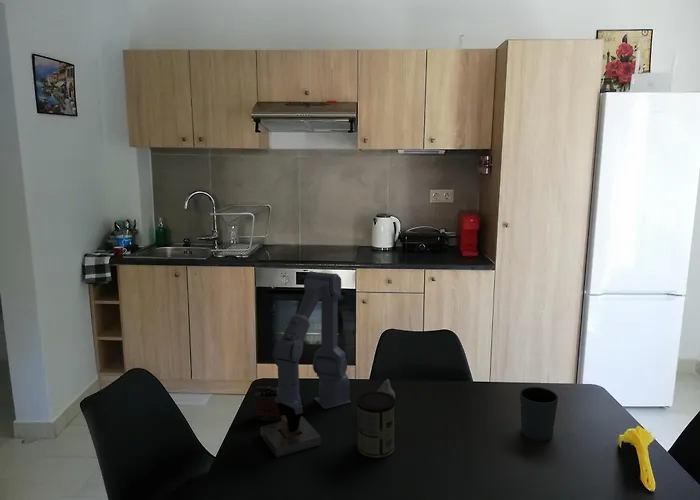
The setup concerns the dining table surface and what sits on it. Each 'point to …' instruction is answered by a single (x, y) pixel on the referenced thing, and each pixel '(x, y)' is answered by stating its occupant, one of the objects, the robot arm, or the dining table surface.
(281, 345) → the robot arm
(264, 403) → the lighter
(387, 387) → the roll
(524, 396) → the dark grey cup
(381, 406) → the coffee can
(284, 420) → the peg
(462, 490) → the dining table surface
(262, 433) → the square hole board
